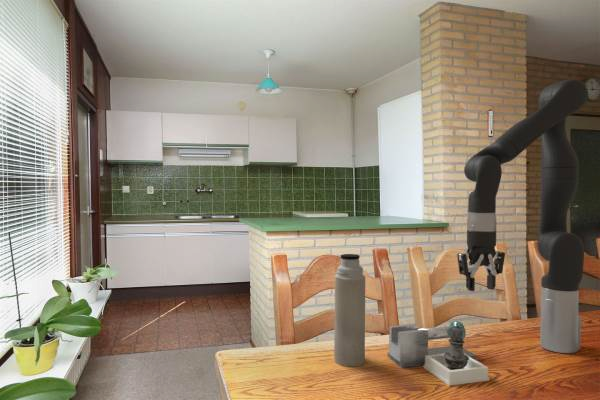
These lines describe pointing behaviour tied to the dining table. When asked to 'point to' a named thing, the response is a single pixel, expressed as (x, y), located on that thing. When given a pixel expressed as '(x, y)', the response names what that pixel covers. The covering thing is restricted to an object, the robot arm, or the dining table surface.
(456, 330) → the dark grey turned piece
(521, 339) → the dining table surface
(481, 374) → the holder
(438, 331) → the shaft
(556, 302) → the robot arm
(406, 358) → the bearing block
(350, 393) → the dining table surface
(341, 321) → the thermos bottle
